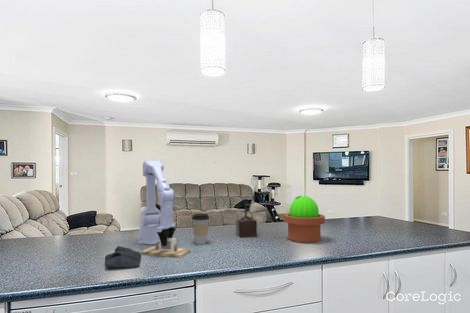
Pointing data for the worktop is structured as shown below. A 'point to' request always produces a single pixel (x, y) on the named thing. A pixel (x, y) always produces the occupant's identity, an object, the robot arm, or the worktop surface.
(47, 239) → the worktop surface
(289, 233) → the potted cactus
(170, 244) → the white rectangular block
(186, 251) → the ledge
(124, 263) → the dark slate chunk
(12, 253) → the worktop surface
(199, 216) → the coffee cup
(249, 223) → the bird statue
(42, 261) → the worktop surface
